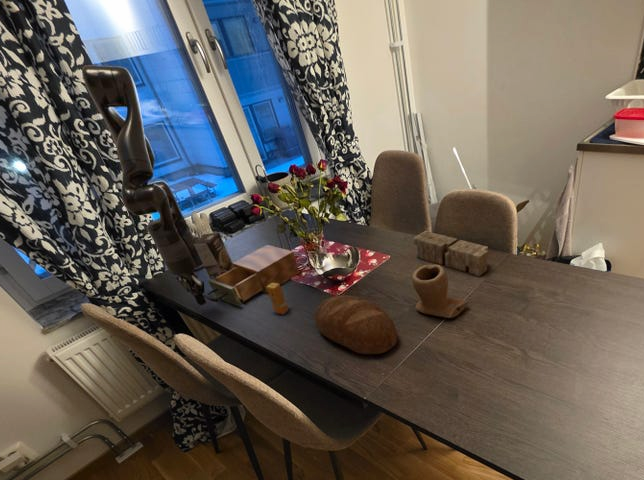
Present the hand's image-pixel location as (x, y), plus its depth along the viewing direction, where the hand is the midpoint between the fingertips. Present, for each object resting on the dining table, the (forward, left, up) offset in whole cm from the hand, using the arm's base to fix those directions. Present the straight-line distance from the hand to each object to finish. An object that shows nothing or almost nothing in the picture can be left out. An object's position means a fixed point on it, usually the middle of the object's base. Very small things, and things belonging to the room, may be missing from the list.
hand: (202, 303), depth 128 cm
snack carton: (+10, +42, -5) cm, 44 cm away
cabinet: (0, +27, -5) cm, 28 cm away
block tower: (+57, +66, -5) cm, 87 cm away
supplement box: (+22, +14, -5) cm, 26 cm away
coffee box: (-19, +20, -5) cm, 28 cm away
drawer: (0, +13, -4) cm, 13 cm away
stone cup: (+69, +37, -5) cm, 78 cm away
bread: (+53, +16, -5) cm, 56 cm away
